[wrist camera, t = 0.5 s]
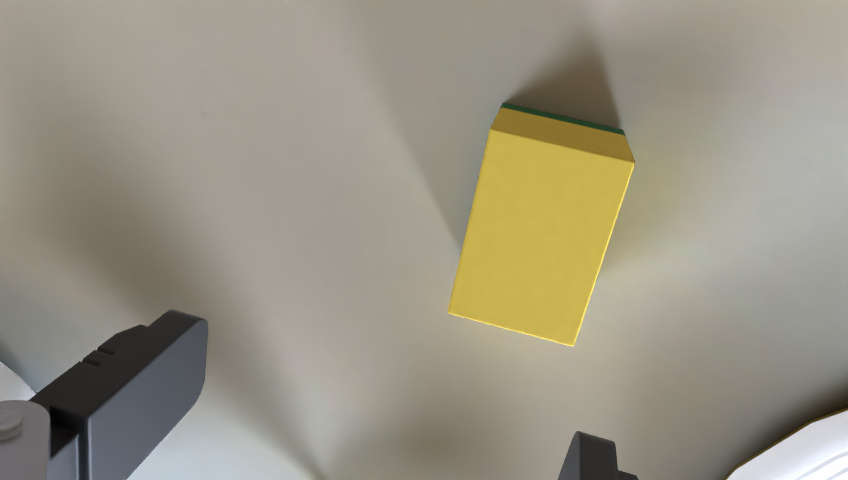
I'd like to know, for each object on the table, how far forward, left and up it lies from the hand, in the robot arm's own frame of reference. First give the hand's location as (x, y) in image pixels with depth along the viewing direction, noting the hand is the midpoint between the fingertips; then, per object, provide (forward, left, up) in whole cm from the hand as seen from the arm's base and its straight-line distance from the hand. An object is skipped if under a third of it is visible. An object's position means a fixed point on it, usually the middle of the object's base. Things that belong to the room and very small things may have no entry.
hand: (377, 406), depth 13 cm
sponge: (0, +3, -16) cm, 16 cm away
